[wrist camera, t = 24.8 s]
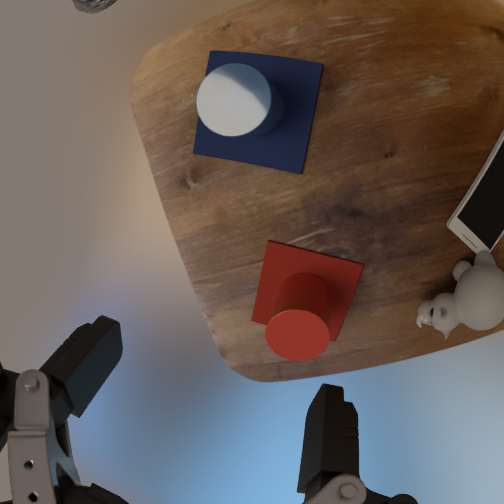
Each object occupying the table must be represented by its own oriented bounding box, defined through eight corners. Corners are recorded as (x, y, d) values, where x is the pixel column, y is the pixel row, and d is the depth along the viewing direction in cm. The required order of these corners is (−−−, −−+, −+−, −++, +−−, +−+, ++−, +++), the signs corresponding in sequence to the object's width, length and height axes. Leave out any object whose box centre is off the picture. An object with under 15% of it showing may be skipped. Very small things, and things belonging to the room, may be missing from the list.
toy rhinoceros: (403, 273, 33) (415, 314, 25) (490, 240, 27) (521, 272, 20) (415, 320, 34) (425, 366, 27) (496, 290, 29) (521, 329, 22)
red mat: (252, 319, 39) (251, 320, 39) (268, 240, 34) (267, 241, 34) (334, 340, 37) (334, 341, 37) (363, 264, 33) (363, 265, 33)
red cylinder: (273, 311, 37) (259, 352, 30) (284, 266, 35) (272, 302, 28) (321, 323, 36) (318, 366, 29) (337, 279, 34) (338, 318, 27)
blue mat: (194, 153, 33) (192, 153, 32) (211, 51, 28) (210, 50, 28) (301, 174, 31) (301, 174, 31) (322, 64, 26) (322, 64, 26)
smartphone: (541, 160, 22) (545, 161, 21) (480, 258, 29) (484, 261, 28) (508, 119, 22) (512, 119, 21) (444, 224, 29) (447, 227, 28)
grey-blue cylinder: (221, 131, 31) (190, 131, 24) (231, 76, 28) (202, 60, 21) (278, 141, 30) (264, 143, 23) (289, 84, 27) (277, 67, 20)
